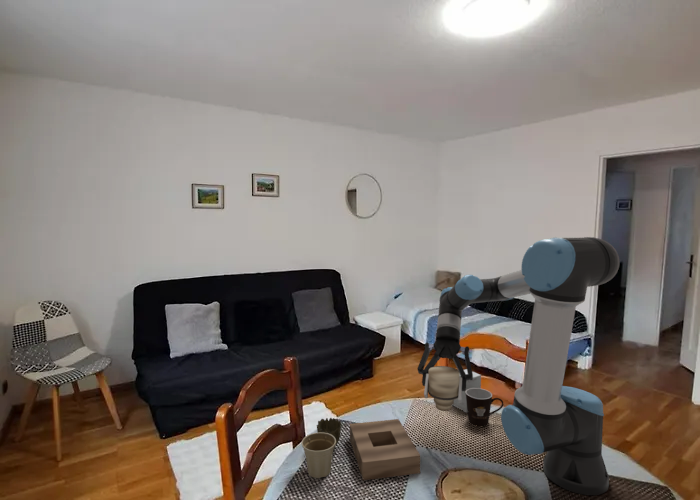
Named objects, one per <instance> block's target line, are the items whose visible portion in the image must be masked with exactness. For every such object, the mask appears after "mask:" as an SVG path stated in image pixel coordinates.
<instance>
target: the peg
mask: <svg viewBox="0 0 700 500" xmlns="http://www.w3.org/2000/svg"><path fill="white" fill-rule="evenodd" d="M459 377H460V373H459V371H458V369H457V368H454V367H453V366H452V367H451V366H447V365H445V366H444V365H436V366H434V367H431V368H430V369H429V378H428V395H429V396H430V397H431V398H433V403H434V404H435V408H436V409H437V410H438V411H442V412H449V411H452V409H453V404H454V400H455V399H457V398H458V394H459Z"/></svg>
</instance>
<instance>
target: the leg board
mask: <svg viewBox="0 0 700 500" xmlns="http://www.w3.org/2000/svg"><path fill="white" fill-rule="evenodd" d="M349 441H350V445H351V447H352V450H353V451H352V452H354V456H355V460H356V463H357V466H358V469H359V472H360V476H361V479H362V481H368V480H377V479H385V478H393V477H400V476H401V477H402V476H408V475H418V474H421V454H420V453H419V452H420V451H418V449H417V447H416V446H415V444H414V443H413V441H412V439H411V437H410V435H409V434H408V432H407V431H406V429H405V427H404V426H403V424H402V422H401V421H400V419H399V418H396V419H395V418H394V419H384V420H377V421H374V420H373V421H366V422H356V423H349Z"/></svg>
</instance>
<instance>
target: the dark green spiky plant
mask: <svg viewBox="0 0 700 500" xmlns="http://www.w3.org/2000/svg"><path fill="white" fill-rule="evenodd" d="M341 421H342V420H339V419H338V418H337V419H335V418H334V417H333V418H332V417H330V418H329V419H328V417H326V418H325V419H324V418H321V419H320V420H318V421H317V424H316V431H317V432H316V433H318V432H322V433H329V434H331V435H333V436H334V437H335V439H336V444H335V446H334V449H333V451H334V450H335V449H336V446H337V444H338V443H339V442H340V438H341V431H342V422H341Z"/></svg>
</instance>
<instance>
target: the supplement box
mask: <svg viewBox="0 0 700 500" xmlns="http://www.w3.org/2000/svg"><path fill="white" fill-rule="evenodd" d="M463 370H464V372H465V374H468V372H467V368H466V369H463ZM472 373H473V380H467V382H466V390H467V389H470V388H480V389H482V387H481V386H482V374H479V373H477V372H475V371H472ZM459 378H461V375H460V377H459ZM452 407H455V408H457V409H458V408H459V409H458V410H460V409H461V411H462V410H463V411H462V412H464V413H467V414H468V410H467V401H466V391H462V400H461V403H459V402H458V398H457V399H455V400H454V404H453V405H452Z"/></svg>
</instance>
